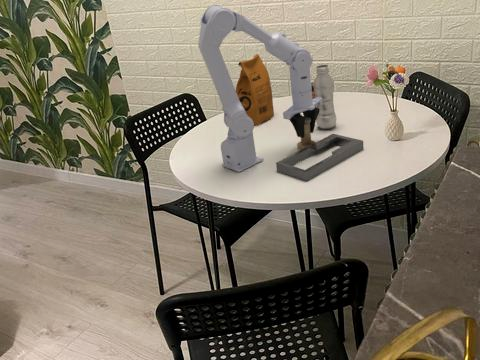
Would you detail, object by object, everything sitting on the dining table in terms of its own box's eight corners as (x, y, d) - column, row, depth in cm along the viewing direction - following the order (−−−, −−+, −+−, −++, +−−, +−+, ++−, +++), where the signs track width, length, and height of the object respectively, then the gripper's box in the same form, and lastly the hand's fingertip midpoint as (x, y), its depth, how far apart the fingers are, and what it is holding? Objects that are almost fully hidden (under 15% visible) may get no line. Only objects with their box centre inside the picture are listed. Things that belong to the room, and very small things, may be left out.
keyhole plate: (306, 181, 132) (305, 172, 131) (276, 171, 140) (275, 162, 139) (363, 149, 145) (363, 140, 144) (333, 141, 153) (333, 133, 152)
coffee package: (235, 124, 180) (225, 62, 170) (256, 112, 188) (248, 53, 178) (257, 127, 173) (248, 63, 164) (278, 115, 182) (271, 53, 172)
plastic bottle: (321, 132, 161) (317, 70, 152) (313, 126, 167) (308, 66, 158) (340, 128, 162) (336, 66, 153) (331, 122, 168) (327, 62, 159)
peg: (307, 151, 149) (304, 123, 145) (293, 148, 153) (290, 120, 149) (319, 145, 152) (317, 117, 148) (306, 141, 156) (303, 114, 152)
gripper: (294, 99, 138) (298, 145, 144) (329, 84, 146) (331, 128, 152) (275, 96, 143) (281, 140, 149) (310, 82, 151) (314, 124, 157)
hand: (305, 134), depth 151 cm, fingers closed on peg, 4 cm apart
